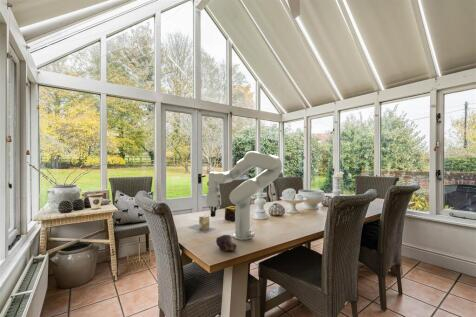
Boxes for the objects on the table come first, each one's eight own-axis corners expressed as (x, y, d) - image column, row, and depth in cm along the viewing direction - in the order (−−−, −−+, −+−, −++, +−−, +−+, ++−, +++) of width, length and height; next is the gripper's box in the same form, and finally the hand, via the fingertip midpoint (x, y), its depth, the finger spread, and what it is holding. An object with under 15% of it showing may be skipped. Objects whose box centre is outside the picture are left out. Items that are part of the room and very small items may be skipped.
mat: (215, 229, 158) (215, 228, 158) (206, 233, 150) (206, 232, 150) (196, 224, 169) (196, 224, 169) (186, 228, 161) (186, 227, 161)
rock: (228, 247, 130) (212, 250, 124) (227, 231, 131) (212, 234, 126) (239, 251, 120) (222, 254, 115) (238, 234, 121) (221, 237, 116)
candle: (233, 221, 178) (233, 209, 178) (224, 219, 185) (224, 207, 185) (241, 219, 187) (241, 207, 187) (232, 217, 193) (232, 205, 193)
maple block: (209, 228, 158) (209, 216, 158) (204, 230, 154) (204, 217, 154) (204, 227, 161) (204, 215, 161) (199, 229, 157) (199, 216, 157)
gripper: (225, 190, 152) (224, 217, 152) (209, 188, 160) (208, 213, 160) (218, 191, 145) (217, 219, 146) (202, 189, 154) (201, 215, 154)
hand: (213, 216), depth 153 cm, fingers closed
